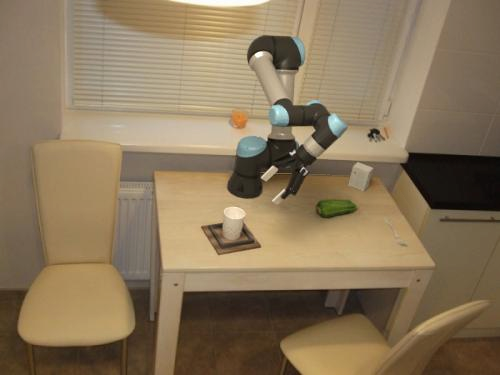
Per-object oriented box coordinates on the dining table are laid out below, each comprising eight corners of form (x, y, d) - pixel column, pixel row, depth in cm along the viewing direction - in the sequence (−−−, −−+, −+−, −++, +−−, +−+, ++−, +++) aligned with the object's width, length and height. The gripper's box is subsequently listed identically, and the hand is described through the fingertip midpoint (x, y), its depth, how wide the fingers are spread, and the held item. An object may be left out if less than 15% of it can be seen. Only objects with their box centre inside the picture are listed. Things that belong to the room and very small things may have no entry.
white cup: (217, 229, 204) (221, 207, 198) (237, 227, 206) (241, 205, 201) (224, 242, 197) (227, 219, 192) (244, 240, 200) (248, 217, 195)
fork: (385, 213, 234) (386, 210, 233) (407, 248, 213) (408, 244, 213) (378, 213, 233) (379, 209, 232) (399, 248, 213) (400, 244, 212)
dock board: (201, 227, 204) (201, 222, 203) (241, 221, 212) (242, 216, 211) (218, 255, 192) (219, 249, 191) (260, 247, 199) (261, 242, 198)
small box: (368, 187, 251) (374, 167, 245) (363, 192, 247) (369, 172, 241) (352, 181, 254) (357, 161, 249) (347, 185, 250) (353, 165, 244)
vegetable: (318, 196, 220) (358, 192, 229) (310, 205, 226) (350, 200, 235) (324, 212, 217) (365, 207, 226) (317, 221, 223) (356, 215, 231)
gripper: (330, 176, 185) (286, 217, 192) (304, 136, 203) (265, 174, 210) (316, 167, 181) (272, 209, 187) (291, 126, 199) (252, 166, 205)
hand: (269, 190), depth 199 cm, fingers open, 13 cm apart
